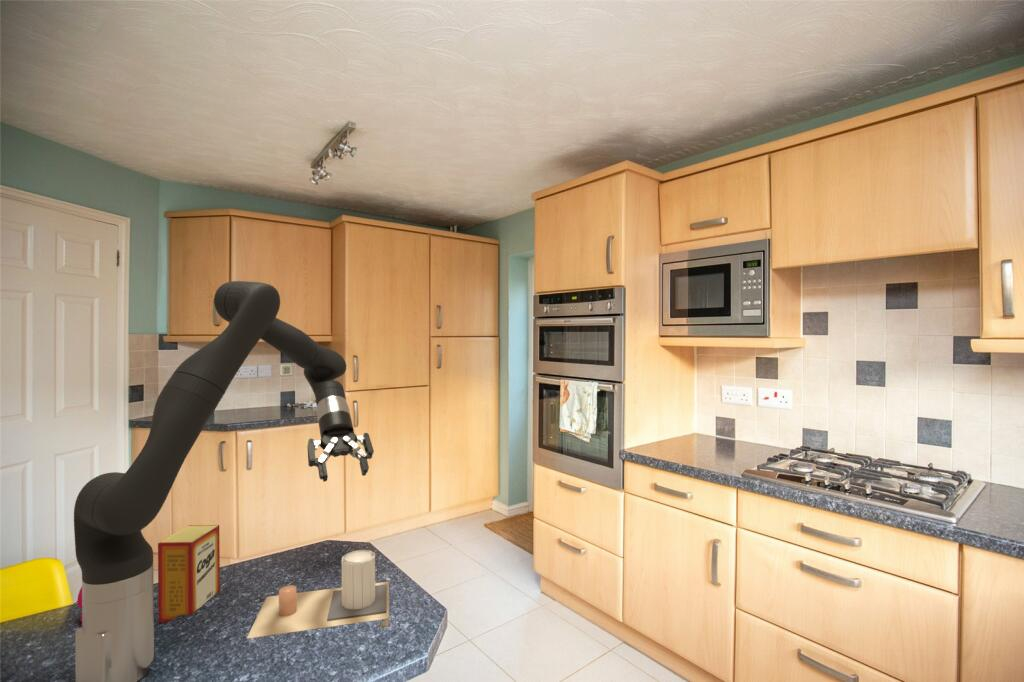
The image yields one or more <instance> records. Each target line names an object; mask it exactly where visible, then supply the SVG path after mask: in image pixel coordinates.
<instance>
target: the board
mask: <svg viewBox="0 0 1024 682" xmlns="http://www.w3.org/2000/svg"><path fill="white" fill-rule="evenodd" d="M296 594H297V611H296V612H295V613H294V614H292V615H290V616H280V615H279V594H277V595H270V596H266V598H265V599H264V602H263V604H262V605H261V607H260V609H259V612H258V615H257V616H256V617H255V620H254V623H253V625H252V626H251V629H250V630H249V633H248V635H247V636H246V640H248V639H255V638H261V637H262V638H263V637H267V636H275V635H282V634H289V633H296V632H303V631H309V630H310V631H311V630H315V629H316V630H317V629H318V630H319V629H323V628H324V629H326V628H331V627H338V626H346V625H352V624H359V623H366V622H367V623H368V622H375V621H379V620H380V621H381V620H382V621H381V622H380V624H378V626H377V627H376V629H377V628H384V627H390V581H384V582H383V581H382V582H375V601H374V602H373V603H372V604H371V605H369V606H367V607H364V608H361V609H347V608H345V607H343V606H342V586H341V587H335V588H334V587H333V588H327V589H326V588H325V589H318V590H311V591H310V590H309V591H302V592H296Z"/></svg>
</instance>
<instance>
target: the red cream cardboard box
mask: <svg viewBox="0 0 1024 682" xmlns="http://www.w3.org/2000/svg"><path fill="white" fill-rule="evenodd" d="M220 557H221V555H220V524H206V525H204V524H199V525H197V524H196V525H192V524H191V525H187V526H186V527H183V529H180V530H179V531H175V532H174V533H172V534H171V535H169V536H168V537H166V538H164V539H162V540H161V541H160V542H158V543H157V582H158V584H157V587H158V590H157V591H158V592H157V593H158V595H157V596H158V601H157V602H158V615H157V616H158V623H159V622H161V623H169V622H171V621H172V620H174V619H176V618H177V617H179V616H181V615H182V616H183V615H184V616H185V615H193V614H194V613H195V612H196V611H197V610H199V609H200V608H201V607H202V606H203V605H205V604H206V603H207V602H208V601H210V599H211V598H213V597H214V596H216V595H218V594H220V591H221V590H220V589H221V586H220V585H221V583H220V582H221V577H220V576H221V575H220V573H221V572H220V571H221V570H220V568H221V565H220V563H221V562H220V561H221V560H220Z"/></svg>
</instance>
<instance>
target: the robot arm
mask: <svg viewBox="0 0 1024 682" xmlns="http://www.w3.org/2000/svg"><path fill="white" fill-rule="evenodd" d="M213 305H214V308H215V311H216V312H217V314H218V315H219V317H220V318H221V319H223V320H224V321H226V322H228V323H229V324H227V326H226V328H225V329H224V330H223V331H222V332H221V333H220V334H219V335H218V336H217V337H215V338H214V339H213V340H211V341H210V342H208V343H207V344H206V345H204V346H203V347H201V348H200V349H198V350H196V351H195V352H194V353H193V354H190V356H189V357H187V358H186V359H185V360H184V361H183V362H181V364H179V365H178V366H177V368H176V369H175V371H174V372H173V373H172V375H171V376H170V378H169V379H168V381H166V383H165V385H164V386H163V388H162V389H161V391H160V393H159V395H158V396H157V399H156V402H155V405H154V409H153V412H152V419H151V425H150V429H149V433H148V436H147V439H146V441H145V443H144V446H143V447H142V449H141V451H140V452H139V454H138V455H137V457H136V458H135V460H133V462H132V464H131V465H130V466H129V468H128V469H127V470H126V471H125V472H118V471H117V472H115V471H113V472H106V473H102V474H100V475H97V476H96V477H94V478H92V479H91V480H90V479H89V481H88V482H86V483H85V485H83V487H82V488H81V490H80V491H79V492H78V494H77V497H76V499H75V503H74V508H73V527H74V528H73V529H74V545H75V546H74V548H75V549H74V550H75V558H76V561H77V564H78V566H79V569H80V570H81V587H82V609H81V612H82V623H81V627H80V628H77V629H76V630H75V635H74V636H75V640H74V641H75V644H74V645H75V647H74V648H75V660H74V661H75V682H138V681H140V680H141V679H143V678H144V677H146V676H147V675H148V674H149V673H150V671H152V668H150V667H149V665H150V664H151V663H152V662H153V660H154V656H155V631H154V630H155V627H154V621H155V620H154V618H155V617H154V550H153V547H152V546H151V545H150V543H149V542H148V541H147V540H146V538H145V537H144V535H143V533H142V530H143V529H145V528H146V527H148V525H149V524H151V523H152V522H153V520H154V519H155V518H156V517H158V514H159V513H160V511H161V510H162V508H163V506H164V504H165V502H166V500H167V497H168V496H169V493H170V492H171V489H172V487H173V486H174V483H175V481H176V478H177V477H178V474H179V472H180V470H181V468H182V466H183V464H184V462H185V460H186V458H187V457H188V455H189V453H190V452H191V450H192V448H193V446H194V444H195V443H196V442H197V439H198V438H199V436H200V434H201V432H202V431H203V429H204V427H205V426H206V424H207V422H208V421H209V420H210V418H211V416H212V415H213V413H214V412H215V410H216V409H217V407H218V405H219V403H220V402H221V400H222V399H223V397H224V396H225V394H226V392H227V391H228V388H229V386H230V384H231V383H232V381H233V379H234V378H235V377H236V375H237V373H238V372H239V370H240V369H241V367H242V366H243V364H244V362H245V361H246V359H247V358H248V356H249V354H251V352H252V351H253V349H254V348H255V346H256V345H257V344H258V343H259V341H260V340H262V341H263V342H265V343H267V344H269V345H270V346H271V347H273V348H274V349H276V350H277V351H278V352H280V353H281V354H283V355H284V356H285V357H286V358H287V359H289V360H291V362H293V363H294V364H296V365H297V366H298V367H300V368H302V369H303V375H304V378H305V379H306V381H307V382H308V384H309V386H310V387H311V390H312V392H313V394H314V397H315V402H316V417H317V419H316V420H317V423H318V428H319V434H320V439H319V440H314V438H309V439H308V441H307V447H306V448H307V461H308V463H307V464H308V467H311V468H312V467H316V468H317V470H318V476H319V477H318V478H319V480H322V481H323V482H327V480H328V478H329V477H328V470H327V462H328V460H329V459H330V458H331V456H332V457H334V458H336V457H340V456H342V457H343V456H344V457H346V456H348V455H350V456H351V457H353V458H355V459H357V460H358V461H359V467H360V468H359V469H360V472H361V475H362V476H363V477H364V476H367V474H368V471H369V467H370V466H369V462H368V460H371V459H372V458H373V455H374V453H375V451H374V447H373V443H372V441H371V438H370V434H369V433H368V432H364V433H363V434H362V435H356V433H355V430H354V426H353V420H352V417H351V412H350V408H349V405H348V402H347V398H346V393H345V389H344V387H343V384H342V383H341V381H337V380H336V379H338V378H340V377H341V376H343V375H344V374H345V373H346V370H347V363H346V360H345V359H344V357H343V356H342V355H341V354H340V353H339V352H337V351H336V350H334V349H331V348H329V347H327V346H323V345H321V344H318V343H317V342H316V341H315V340H314V339H313V338H312V337H310V336H309V335H308V334H307V333H306V332H304V331H303V330H301V329H299V328H298V327H296V326H294V325H292V324H290V323H288V322H286V321H284V320H282V319H279V318H277V315H278V313H279V310H280V307H281V297H280V294H279V291H278V290H277V288H276V287H274V286H273V285H272V284H270V283H269V284H268V283H265V282H258V281H244V280H233V281H228V282H225V283H223V284H221V285H220V286H219V287H218V289H216V291H215V293H214V297H213ZM357 442H359V443H360V445H361V446H363V449H364V450H363V449H362V448H361V447H360V445H359V444H357ZM318 447H320V448H321V449H322V450H323V451H322V454H321V455H320V457H316V451H317V449H318Z"/></svg>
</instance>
